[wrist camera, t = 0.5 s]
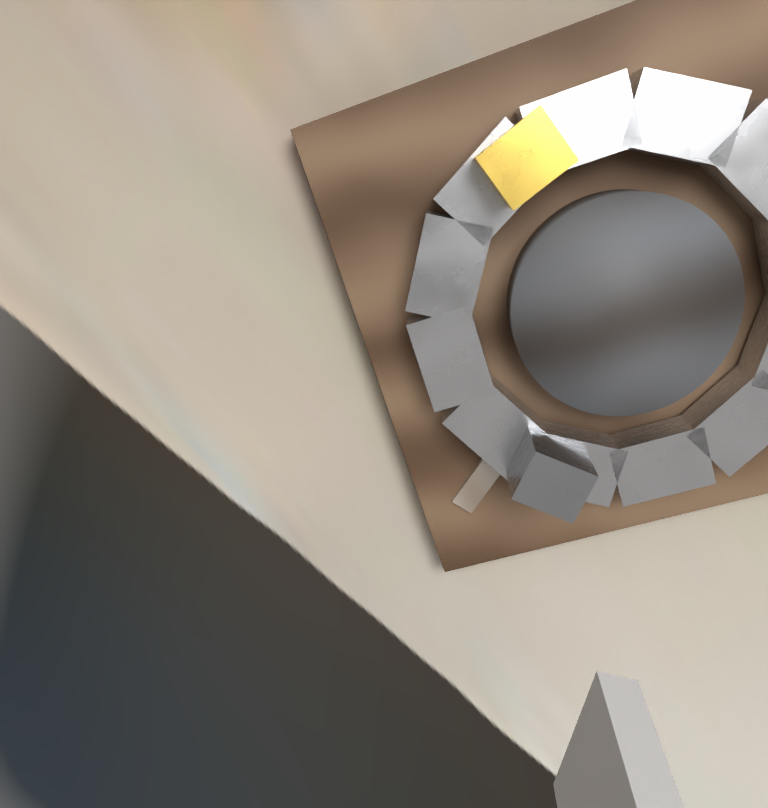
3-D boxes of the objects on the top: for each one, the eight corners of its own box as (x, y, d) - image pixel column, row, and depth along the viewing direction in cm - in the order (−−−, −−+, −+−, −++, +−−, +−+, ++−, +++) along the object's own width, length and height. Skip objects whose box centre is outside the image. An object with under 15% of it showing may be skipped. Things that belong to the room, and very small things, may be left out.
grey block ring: (359, 166, 33) (343, 166, 28) (794, 10, 29) (861, -19, 25) (476, 524, 38) (480, 575, 33) (856, 427, 35) (921, 469, 30)
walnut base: (298, 131, 35) (278, 127, 30) (822, -64, 30) (883, -101, 26) (444, 553, 41) (444, 598, 37) (890, 442, 37) (948, 478, 33)
